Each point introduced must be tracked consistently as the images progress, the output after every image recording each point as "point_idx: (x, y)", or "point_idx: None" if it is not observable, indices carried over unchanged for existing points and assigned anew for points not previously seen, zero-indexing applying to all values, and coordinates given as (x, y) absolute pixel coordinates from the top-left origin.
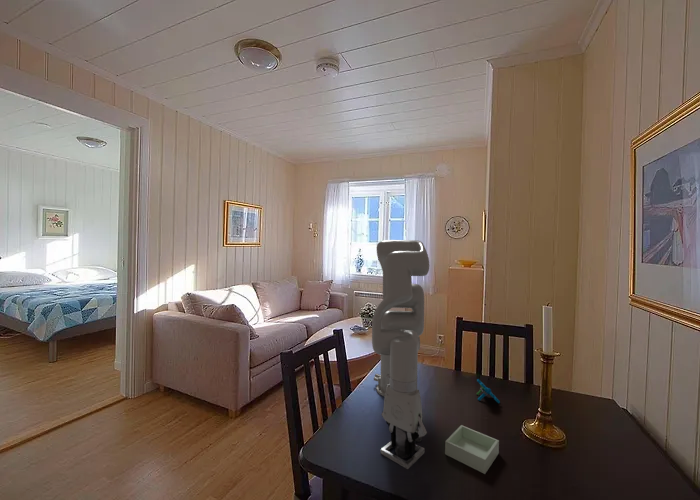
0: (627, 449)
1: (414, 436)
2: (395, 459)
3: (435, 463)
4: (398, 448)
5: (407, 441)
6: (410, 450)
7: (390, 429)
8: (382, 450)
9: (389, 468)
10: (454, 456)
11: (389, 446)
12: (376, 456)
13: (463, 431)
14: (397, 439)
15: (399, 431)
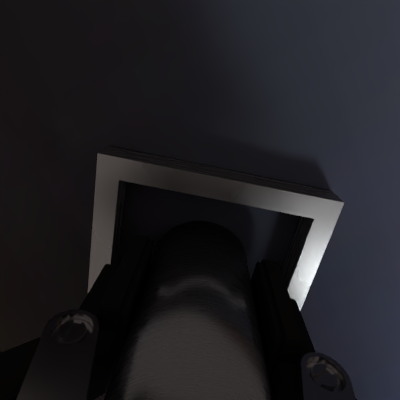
0: None
1: (2, 378)
2: (206, 171)
3: (6, 276)
4: (210, 252)
5: (106, 306)
6: (116, 269)
7: (331, 379)
8: (326, 198)
9: (219, 83)
10: None
11: (293, 264)
12: (351, 148)
13: None
14: (222, 300)
15: (195, 380)
